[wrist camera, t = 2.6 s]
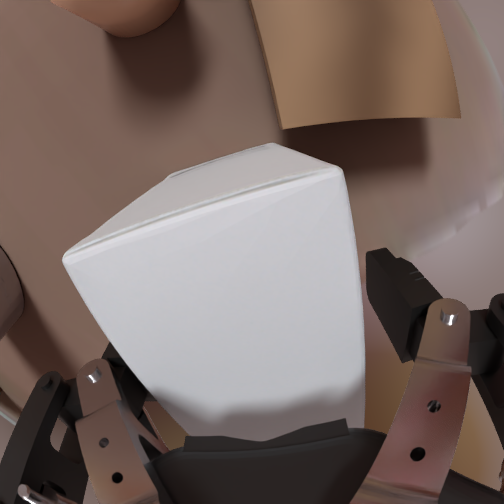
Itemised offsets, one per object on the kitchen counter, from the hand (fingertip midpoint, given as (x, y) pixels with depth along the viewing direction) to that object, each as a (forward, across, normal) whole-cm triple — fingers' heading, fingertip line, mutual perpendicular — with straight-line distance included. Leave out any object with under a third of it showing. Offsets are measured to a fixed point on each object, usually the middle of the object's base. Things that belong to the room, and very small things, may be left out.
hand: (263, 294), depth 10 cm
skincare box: (+6, +1, 0) cm, 6 cm away
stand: (+6, -6, -11) cm, 15 cm away
